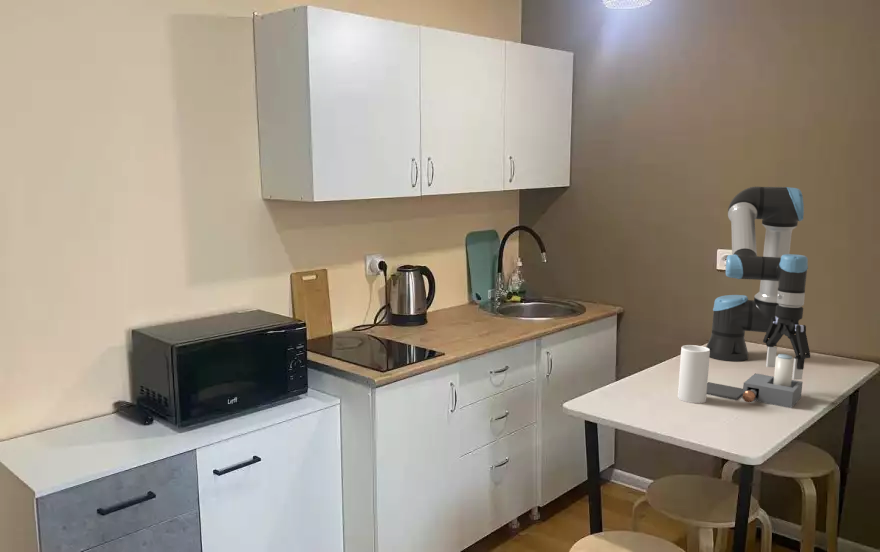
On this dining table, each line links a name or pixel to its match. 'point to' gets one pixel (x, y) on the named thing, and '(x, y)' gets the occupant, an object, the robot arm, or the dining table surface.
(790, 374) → the cylinder
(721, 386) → the mat
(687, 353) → the cup
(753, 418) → the dining table surface
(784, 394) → the frame
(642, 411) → the dining table surface
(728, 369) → the dining table surface
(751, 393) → the plunger
